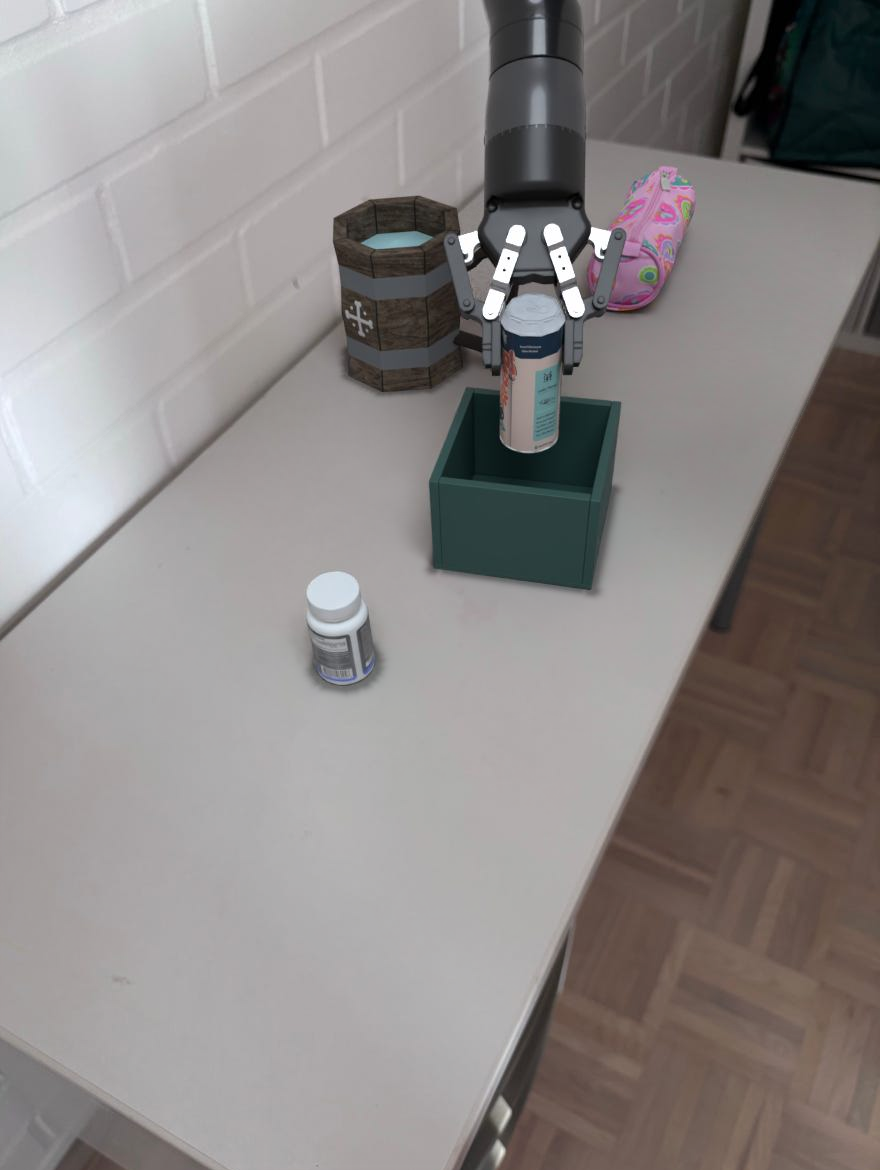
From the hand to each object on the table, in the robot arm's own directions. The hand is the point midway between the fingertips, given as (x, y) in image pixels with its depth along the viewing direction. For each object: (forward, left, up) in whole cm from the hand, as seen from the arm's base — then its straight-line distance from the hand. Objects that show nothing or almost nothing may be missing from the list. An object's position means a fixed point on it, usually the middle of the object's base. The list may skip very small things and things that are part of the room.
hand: (532, 372), depth 74 cm
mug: (+15, -27, -17) cm, 35 cm away
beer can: (0, -2, -8) cm, 8 cm away
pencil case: (-5, -50, -17) cm, 53 cm away
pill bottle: (+11, +17, -17) cm, 27 cm away
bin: (0, -2, -17) cm, 17 cm away
